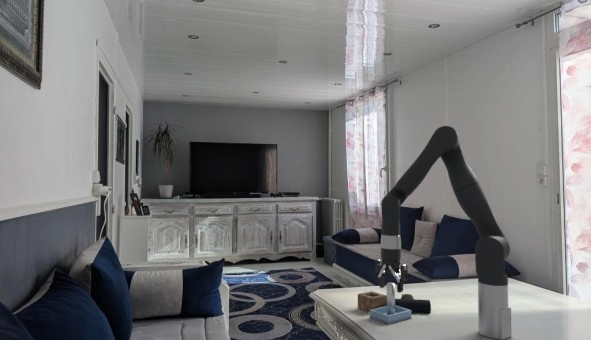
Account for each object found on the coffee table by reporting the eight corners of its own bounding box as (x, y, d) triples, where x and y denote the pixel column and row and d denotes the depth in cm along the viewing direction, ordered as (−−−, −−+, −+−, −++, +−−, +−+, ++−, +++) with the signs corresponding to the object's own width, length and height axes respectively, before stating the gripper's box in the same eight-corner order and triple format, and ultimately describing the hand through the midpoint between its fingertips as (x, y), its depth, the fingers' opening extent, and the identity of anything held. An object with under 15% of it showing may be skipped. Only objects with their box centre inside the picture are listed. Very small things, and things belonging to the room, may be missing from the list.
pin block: (386, 310, 162) (386, 295, 162) (372, 314, 157) (372, 298, 157) (371, 305, 168) (371, 291, 169) (357, 308, 164) (357, 293, 164)
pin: (397, 315, 152) (397, 283, 152) (391, 317, 150) (391, 284, 150) (390, 313, 154) (390, 282, 155) (384, 315, 152) (384, 283, 153)
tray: (411, 318, 152) (411, 310, 152) (388, 324, 145) (388, 316, 145) (393, 312, 160) (393, 304, 160) (370, 318, 152) (370, 310, 152)
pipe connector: (388, 292, 171) (424, 293, 170) (388, 304, 171) (424, 306, 169) (392, 300, 160) (430, 301, 158) (392, 313, 160) (430, 315, 158)
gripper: (412, 248, 150) (412, 292, 149) (383, 244, 161) (383, 284, 161) (398, 250, 145) (399, 295, 145) (370, 245, 157) (370, 287, 156)
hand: (390, 289), depth 153 cm, fingers open, 8 cm apart
